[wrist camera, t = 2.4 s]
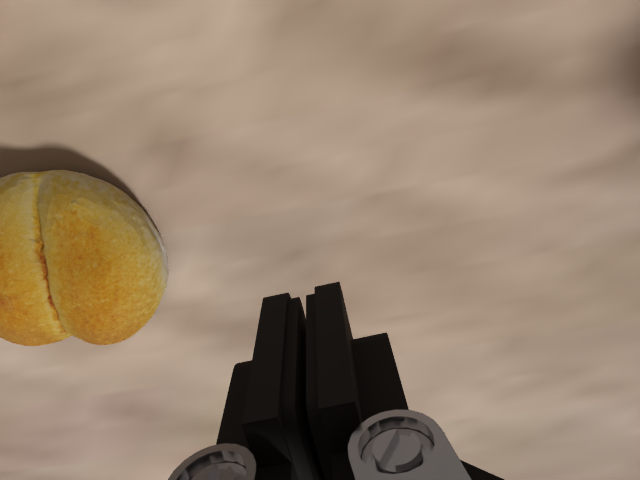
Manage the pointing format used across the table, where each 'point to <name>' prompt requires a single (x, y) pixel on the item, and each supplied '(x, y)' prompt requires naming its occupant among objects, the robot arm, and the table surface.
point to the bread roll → (75, 260)
